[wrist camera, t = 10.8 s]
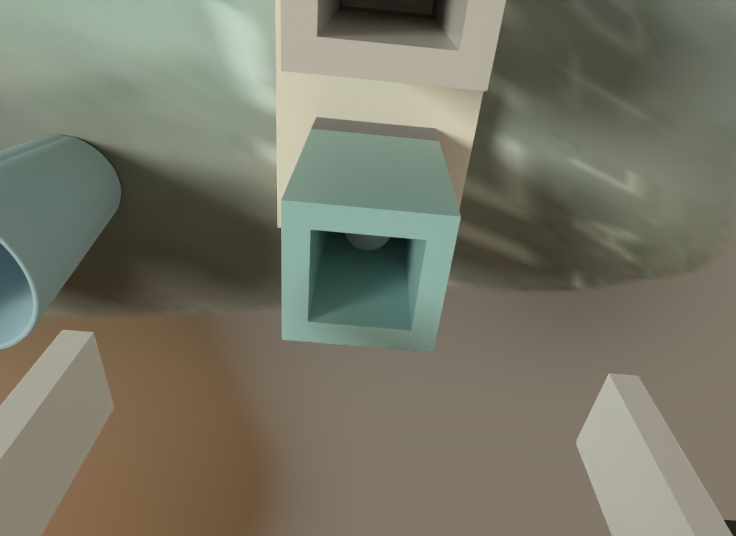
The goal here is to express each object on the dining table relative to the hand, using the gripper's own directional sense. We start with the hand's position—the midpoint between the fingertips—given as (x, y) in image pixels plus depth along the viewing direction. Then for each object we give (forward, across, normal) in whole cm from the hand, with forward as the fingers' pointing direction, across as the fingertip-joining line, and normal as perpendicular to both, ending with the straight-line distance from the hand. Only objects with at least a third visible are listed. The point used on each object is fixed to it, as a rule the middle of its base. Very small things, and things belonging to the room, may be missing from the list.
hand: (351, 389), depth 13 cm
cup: (+18, -17, -3) cm, 24 cm away
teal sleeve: (+16, 0, -1) cm, 16 cm away
